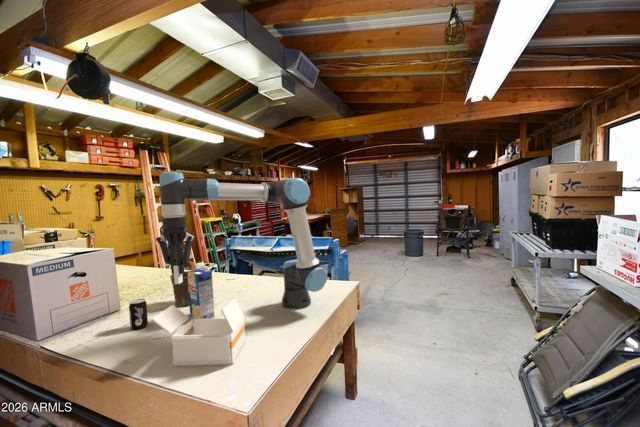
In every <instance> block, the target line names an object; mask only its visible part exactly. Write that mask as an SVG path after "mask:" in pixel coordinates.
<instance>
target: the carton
mask: <svg viewBox="0 0 640 427" xmlns="http://www.w3.org/2000/svg"><path fill="white" fill-rule="evenodd" d="M245 329H246V328H245V316H244V317H243V319H242V320H241V321H240V323H239V324H238V325H237V327H236V328H235V330H234V331H233V332H232V331H231V329H230V327H229V325H228V323H227V321H226V319H225V317H216V318H215V317H213V318H207V319H194V318H192V319H190V320H189V321H188V322H187V323H186V324H185V325H183V327H181V328H179V330H177V332H175V333H174V334H173V335H171V350H172V361H173V367H184V366H185V367H187V366H191V367H192V366H194V367H195V366H220V365H221V366H225V365H226V366H227V365H229V366H230V365H231V366H232V365H234V363H235V362H236V360H237V358H239V355H240V353H241V352H242V350H243V348H244V346H245V344H246V330H245Z"/></svg>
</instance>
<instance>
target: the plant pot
mask: <svg viewBox="0 0 640 427" xmlns="http://www.w3.org/2000/svg"><path fill="white" fill-rule="evenodd" d="M187 271H188V270H187ZM187 271H186V270H185V271H184V273H183V274H182V277H183V282H182V283H180V284H175V283H174V274H171V275H170V276H169V278H170V279H171V280H170V281H171V284H172V288H173V295H174V303H175V306H177V307H190V304H189V288H188V272H187Z"/></svg>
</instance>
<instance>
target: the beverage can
mask: <svg viewBox="0 0 640 427" xmlns="http://www.w3.org/2000/svg"><path fill="white" fill-rule="evenodd" d="M147 305H148V304H147V301H146V299H145V298H136V299H134V300H131V301H129V305H128V312H129V314H128V315H129V326H130V329H131V330H132V331H138V330H142V329H145V328H146V327H147V326H148V324H149V322H148V320H149V319H148V306H147Z"/></svg>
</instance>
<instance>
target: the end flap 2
mask: <svg viewBox="0 0 640 427" xmlns="http://www.w3.org/2000/svg"><path fill="white" fill-rule="evenodd" d="M221 313H222V316H223V318H225V319H226V321H227V323H228V325H229V327H230V329H231V331H232V332H233V331H234V330H235V328H236V327H237V325H238V324H239V323H240V321H241V320H242V319H243V317H244V318H245V314H244V313H243V310H242V309H241V306H240V305H239V303H238V301H237V299H236V297H235V296H234V297H233V298H231V300H230V301H229V302H228V303H227V304H226V305H225V306H224V307H223V308H222V309H221Z"/></svg>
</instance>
